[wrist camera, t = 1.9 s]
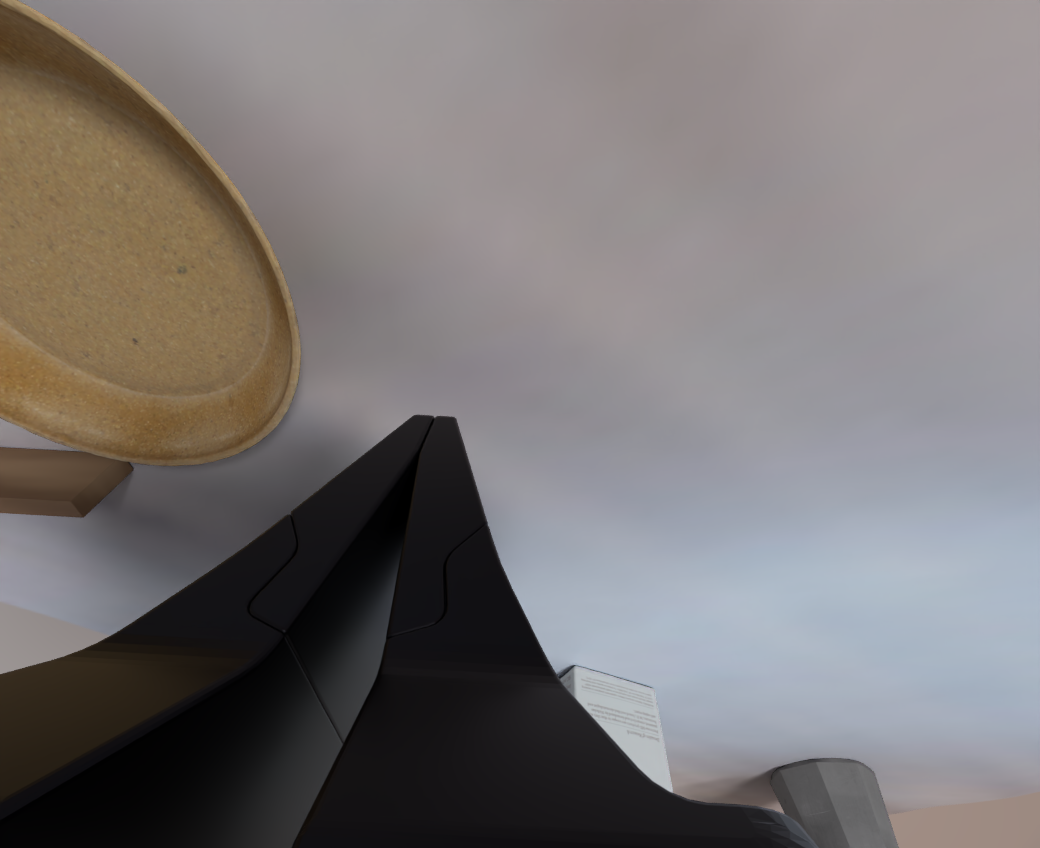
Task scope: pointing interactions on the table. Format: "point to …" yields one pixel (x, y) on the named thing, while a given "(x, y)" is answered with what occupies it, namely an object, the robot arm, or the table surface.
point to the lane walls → (56, 481)
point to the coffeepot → (835, 803)
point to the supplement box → (624, 718)
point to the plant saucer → (127, 268)
